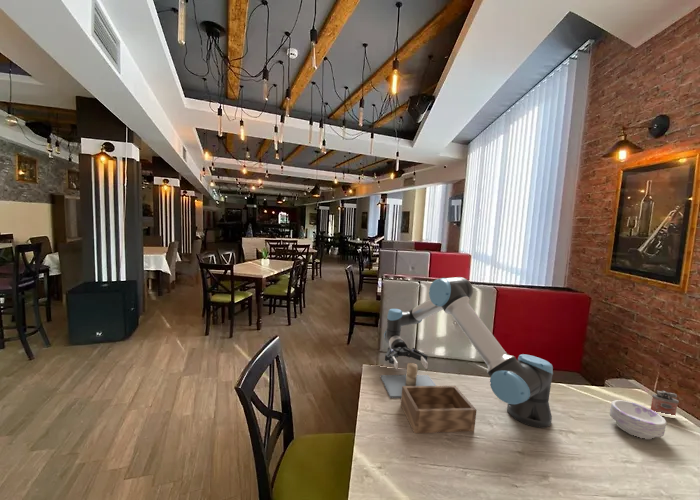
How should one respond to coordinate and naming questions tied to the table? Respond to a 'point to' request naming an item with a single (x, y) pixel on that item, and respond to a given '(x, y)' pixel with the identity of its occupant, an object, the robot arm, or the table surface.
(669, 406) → the lighter
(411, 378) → the lid
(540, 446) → the table surface
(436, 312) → the robot arm
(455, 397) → the brown wooden open box
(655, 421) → the paper bowls
